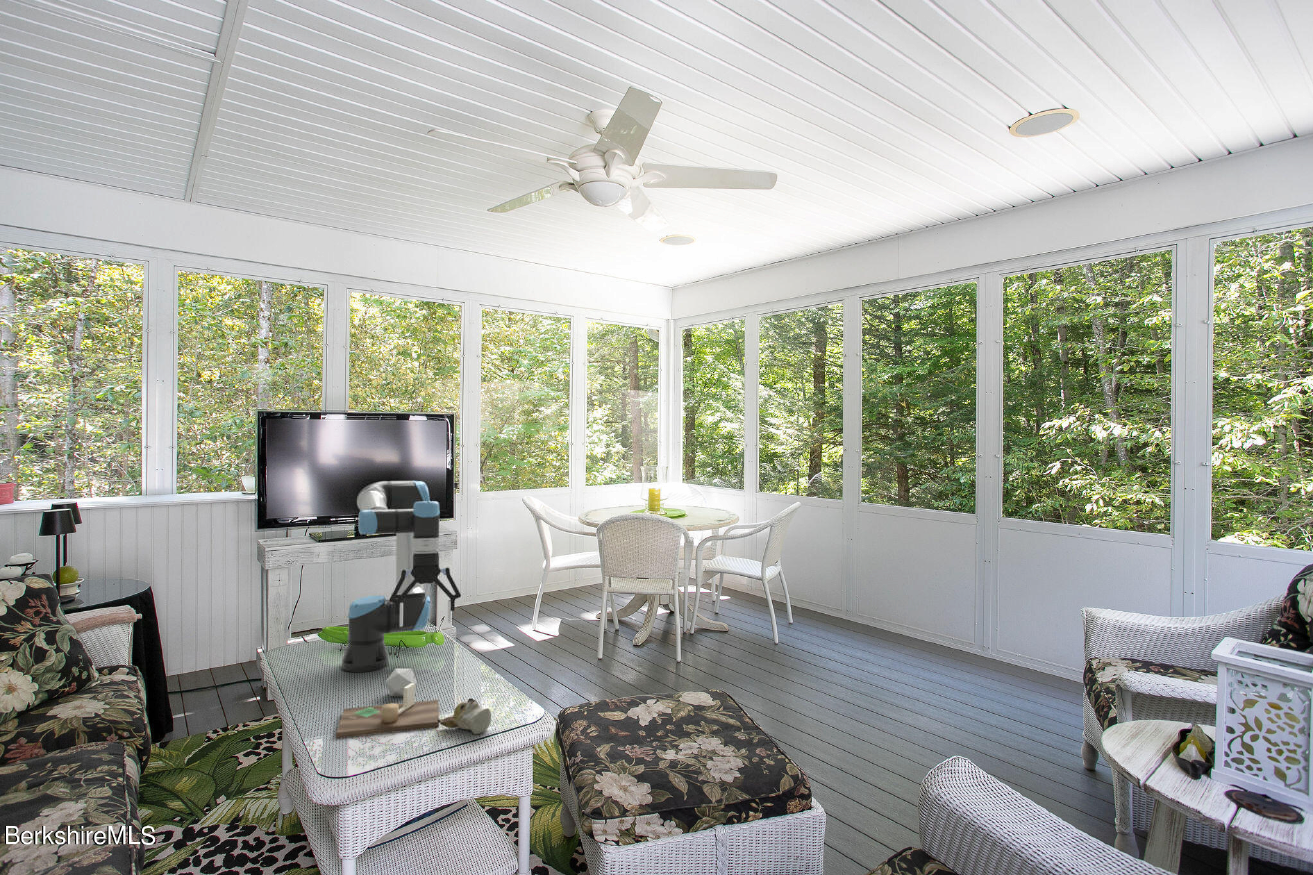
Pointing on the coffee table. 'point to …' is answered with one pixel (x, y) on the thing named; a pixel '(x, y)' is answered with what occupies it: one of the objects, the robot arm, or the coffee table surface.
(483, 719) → the ceramic sculpture
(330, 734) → the coffee table surface
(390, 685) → the die
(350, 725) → the dial plate
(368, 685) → the coffee table surface
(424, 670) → the coffee table surface
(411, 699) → the knob lever
